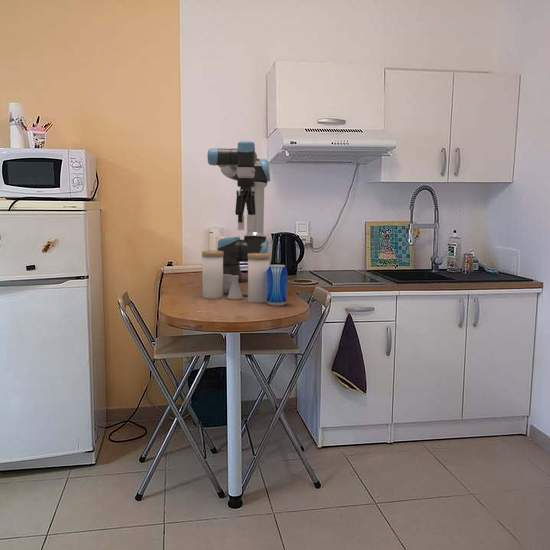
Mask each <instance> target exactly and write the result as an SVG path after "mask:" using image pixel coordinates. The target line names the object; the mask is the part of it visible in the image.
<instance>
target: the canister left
mask: <svg viewBox="0 0 550 550" xmlns="http://www.w3.org/2000/svg"><path fill="white" fill-rule="evenodd" d="M223 256H224V251H218V250H201V258H202V262H201V263H202V264H201V265H202V266H201V268H202V269H201V271H202V273H201V275H202V278H201V279H202V281H201V283H202V284H201V285H202V287H201V288H202V295H201V296H202V298H204V299H213V300H214V299H221V298H223V297H224V295H223Z"/></svg>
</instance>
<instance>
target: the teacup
mask: <svg viewBox="0 0 550 550" xmlns="http://www.w3.org/2000/svg"><path fill="white" fill-rule="evenodd" d="M232 276H233V275H230V274H223V292H224V293H229V291H230V288H231V285H232Z"/></svg>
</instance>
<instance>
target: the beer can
mask: <svg viewBox="0 0 550 550" xmlns="http://www.w3.org/2000/svg"><path fill="white" fill-rule="evenodd" d="M266 301H267V302H266V303H267V305H269V306H272V307H273V306H277V307H278V306H285V305H286V303H287V302H288V270H287V268H286V265H285V264H269V268H268V270H267V292H266Z"/></svg>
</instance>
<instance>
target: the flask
mask: <svg viewBox="0 0 550 550" xmlns="http://www.w3.org/2000/svg"><path fill="white" fill-rule="evenodd" d="M238 278H239V276H237V275H234V276H232V285H231V288H230V291H229V292H228V293H229V294H228V295H227V297H226V299H227V300H231V301H232V300H233V301H234V300H235V301H236V300H237V301H238V300H244V296H242V294H243V293H242V291H241V288H240V282H239V283H238Z"/></svg>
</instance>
